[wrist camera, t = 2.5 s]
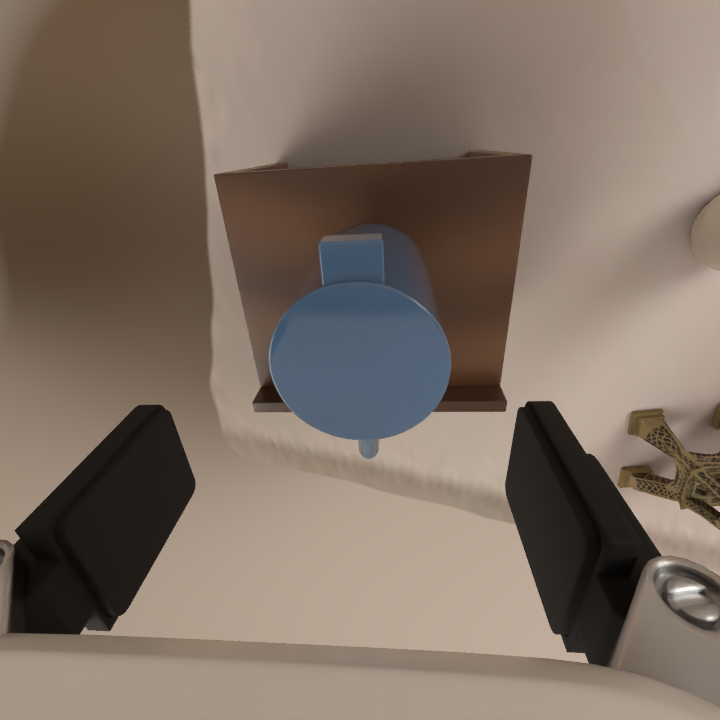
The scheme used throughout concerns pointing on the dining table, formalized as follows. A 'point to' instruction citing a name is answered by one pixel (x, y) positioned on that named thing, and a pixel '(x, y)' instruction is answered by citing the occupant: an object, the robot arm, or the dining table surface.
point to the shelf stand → (405, 213)
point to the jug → (363, 339)
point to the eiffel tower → (709, 470)
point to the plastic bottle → (707, 234)
